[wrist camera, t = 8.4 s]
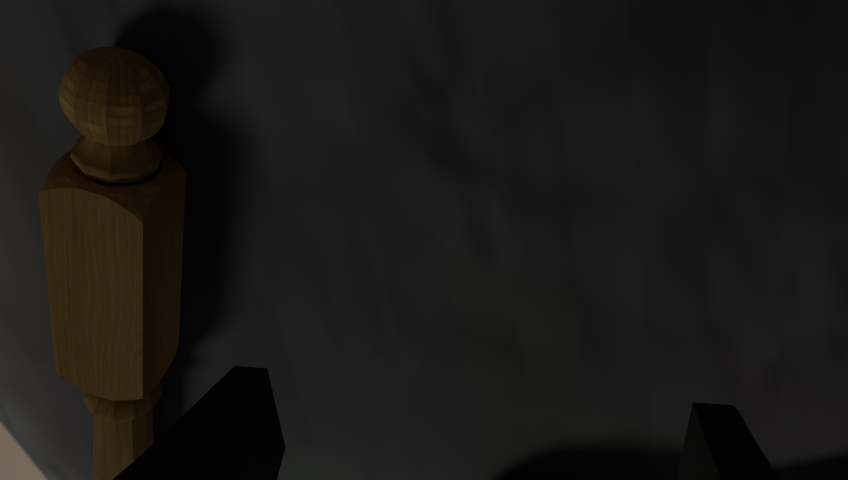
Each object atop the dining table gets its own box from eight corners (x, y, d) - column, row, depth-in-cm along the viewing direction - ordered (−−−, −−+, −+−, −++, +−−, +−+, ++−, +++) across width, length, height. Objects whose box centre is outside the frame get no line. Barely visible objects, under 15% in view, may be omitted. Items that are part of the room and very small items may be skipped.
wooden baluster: (81, 632, 35) (25, 57, 18) (113, 574, 38) (91, 20, 21) (142, 650, 35) (143, 91, 18) (170, 590, 38) (195, 49, 21)
